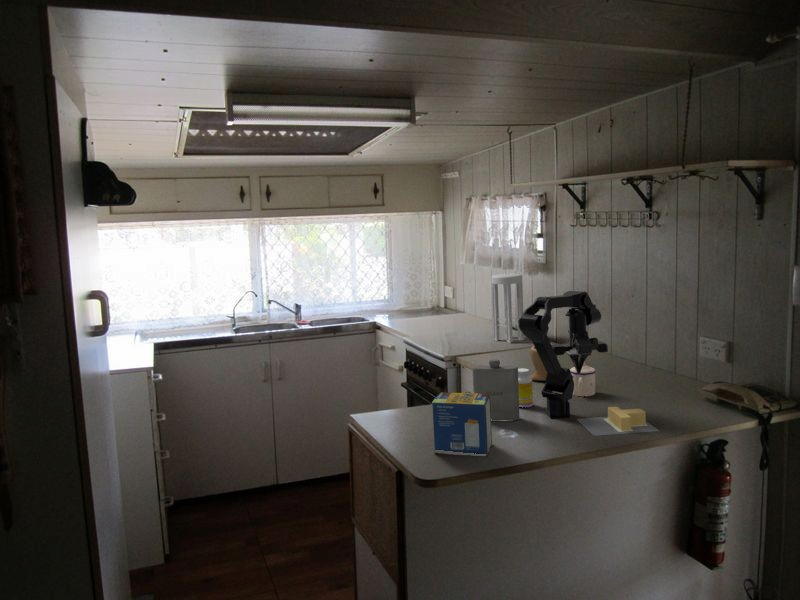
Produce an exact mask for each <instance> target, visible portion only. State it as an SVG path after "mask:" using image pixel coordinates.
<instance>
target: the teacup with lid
mask: <svg viewBox="0 0 800 600" xmlns="http://www.w3.org/2000/svg"><path fill="white" fill-rule="evenodd" d="M569 370H570V371H571V374H572V376H573V377H574V378H573V381H574V391H573V396H575V397H576V396H577V397H584V396H585V397H591V396H594V395H595V394H596V368H594V367H591V366H589V365H587V364H586V363H585V361H584V364H583V367H582V369H581V372H580V373H577V371H576V369H575V366H573V367H571V368H569Z"/></svg>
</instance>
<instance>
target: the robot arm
mask: <svg viewBox="0 0 800 600" xmlns="http://www.w3.org/2000/svg"><path fill="white" fill-rule="evenodd" d="M562 308H568V310H567V312H566V313H565V316H566V317H568V330H567V332H568V336H569V337H568V339H569V341H568V342H567V343H568V345H563V344H561V343H552V344H551V341H550V339H549V337H548V332H549V329H550V327H549V324H550V323H551V321H552V310H553V309H554V310H555V309H562ZM541 310H544V313H543V315H540V314H537V313H539V312H540V311H541ZM601 320H602V314H601V311H600V310H599V309H598V308H597V305H596V304H593V302H592V300H591V297H590V295H589V294H588V292H587V291H580V290H568V291H566V292H563V294H562V295H561V294H560V295H553V296H549V295H548V296H538V297H536V298H535V300H534V301H533V302H532V304H530V305H529V306H528V307H527V308H526V309H525V310H523V314H522V316H521V318H520V319H519V328H520V330H521V331H522V333H523V334H524V337H526V338H527V339H529V340H530V341H531V342H532V343H533V346H535V348H536V350H537V353H538V355H539V357H540V359H541V361H542V363H543V365H544V367H545V370H546V372H547V376H546V379H545V380H546V381H545V384H544V386H543V388H542V389H541V391H540V392H541V396H542V398H546V411H545V415H546V416H547V417H548V418H549V419H551V420H558V419H559V420H560V419H570V418H571V416H570V414H571V405H570V404H571V403H570V401H569V400H572V399H573V396H574V395H573V391H574V381H573V378H574V377H573V376H572V374H571V371H570V368H567V367H562V365H561V363H560V362H559V359H558V356H564V355H565V354H566V355H567V356H568V357H569V359H571V361H572V363H573V367H575V369H576V371H577V373H580V372H581V369H582V367H583V364H584V362H585V361H586V359H587V358H588V357H589V356H592V353H593V351H597V352H598V353H608V352H609V346H608V344H607V343H605V342H604V341H602V340H599V339H598V337H590V338H589V332H588V331H587V329H588V326H591V325H594V324H598V323H599V322H600V321H601ZM556 355H557V357H556Z"/></svg>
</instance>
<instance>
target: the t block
mask: <svg viewBox="0 0 800 600" xmlns="http://www.w3.org/2000/svg"><path fill="white" fill-rule="evenodd" d="M607 417H608V420H609V421H611V422H612V423H613V424H614V425H615V426H617V427H618V428H619V429H620V430H621V431H623V430H631V426H636V425H646V422H647V420H646V417H647V416H646V411H645V410H643V409H641V408H629V409H628V408H627V409H621V408H620V407H618V406H608V407H607Z"/></svg>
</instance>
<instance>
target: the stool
mask: <svg viewBox="0 0 800 600" xmlns="http://www.w3.org/2000/svg"><path fill="white" fill-rule="evenodd" d="M490 278H491V299H492V300H491V302H492V303H491V304H492V305H491V306H492V328H493V329H492V330H493V332H492V333H493V341H494V340H495V341H494V342H499V341H498V340H500V341H501V339H500V338H501V337H500V328H501V327H502V328H504V337H505V338H504V339H506V343H507V342H508V343H507V344H512V343H511V342H513V343H514V339H513V337H514V336H513V325H517V339H518V340H517V341H521V340H522V341H524V340H525V335H524V334H523V333H522V331H521V330H520V328H519V319H520V318H521V316H522V314H523V312H524V289H523V287H524V286H523V274H520V273H498V274H493V275H491V277H490ZM512 284H513V285H515V284H516V285H515V287H516V311H517V315H516V316H515V315H513V313H512V311H513V310H512V309H513V307H512ZM498 285H503V309H504V310H503V312H504V318H501V317H500V313H499V311H500V309H499V286H498ZM513 319H515V320H517V321H513ZM500 322H504V324H503V323H500Z"/></svg>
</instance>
